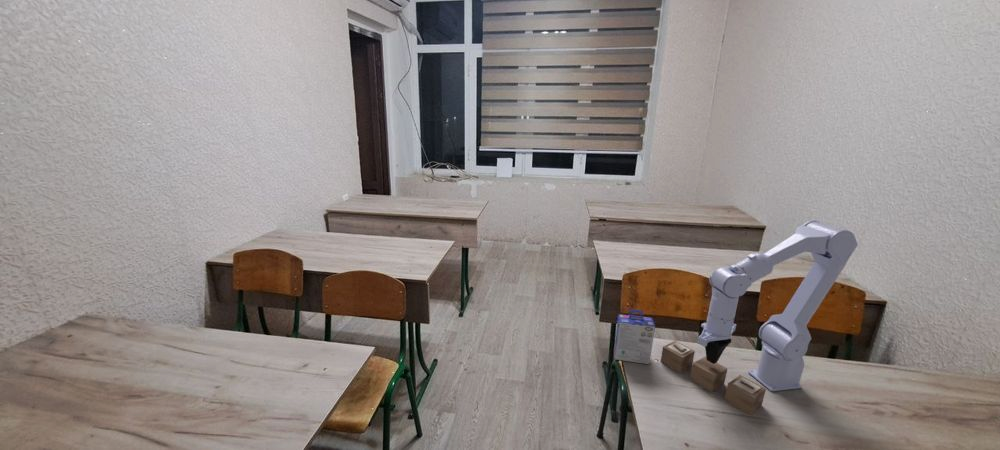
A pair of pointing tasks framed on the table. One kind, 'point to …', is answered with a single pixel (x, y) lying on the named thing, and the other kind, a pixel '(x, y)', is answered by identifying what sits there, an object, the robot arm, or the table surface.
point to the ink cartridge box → (634, 338)
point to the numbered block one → (745, 394)
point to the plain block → (708, 374)
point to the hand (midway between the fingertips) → (711, 361)
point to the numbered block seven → (677, 356)
